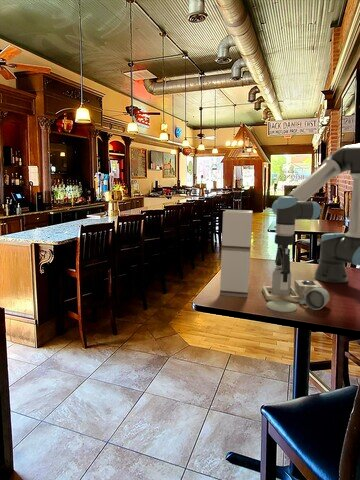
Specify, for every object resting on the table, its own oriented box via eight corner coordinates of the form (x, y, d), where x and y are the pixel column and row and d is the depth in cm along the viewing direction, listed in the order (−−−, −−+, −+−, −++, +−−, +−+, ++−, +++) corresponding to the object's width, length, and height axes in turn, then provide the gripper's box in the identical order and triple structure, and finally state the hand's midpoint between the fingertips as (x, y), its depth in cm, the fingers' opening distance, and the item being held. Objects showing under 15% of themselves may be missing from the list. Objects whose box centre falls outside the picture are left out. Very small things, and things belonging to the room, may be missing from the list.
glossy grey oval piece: (311, 291, 154) (312, 280, 153) (313, 294, 150) (314, 282, 149) (301, 291, 154) (302, 279, 153) (303, 294, 150) (304, 282, 149)
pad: (293, 303, 145) (293, 301, 144) (299, 312, 134) (299, 310, 134) (265, 301, 146) (265, 299, 145) (269, 311, 135) (269, 309, 135)
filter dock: (314, 292, 158) (315, 279, 158) (323, 303, 145) (324, 288, 144) (262, 290, 160) (262, 277, 160) (266, 300, 147) (267, 285, 146)
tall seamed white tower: (248, 290, 161) (252, 210, 155) (247, 297, 151) (251, 212, 145) (222, 287, 163) (225, 209, 158) (219, 295, 153) (223, 211, 147)
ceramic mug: (329, 306, 142) (331, 287, 141) (324, 312, 135) (325, 291, 134) (302, 301, 148) (303, 282, 147) (295, 306, 141) (297, 287, 140)
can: (275, 292, 158) (277, 265, 157) (292, 295, 154) (294, 268, 152) (268, 296, 153) (269, 268, 151) (285, 300, 148) (287, 271, 146)
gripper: (270, 230, 162) (267, 276, 165) (280, 238, 137) (276, 293, 140) (287, 230, 161) (284, 277, 164) (301, 239, 136) (296, 294, 140)
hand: (280, 284), depth 152 cm, fingers open, 13 cm apart
